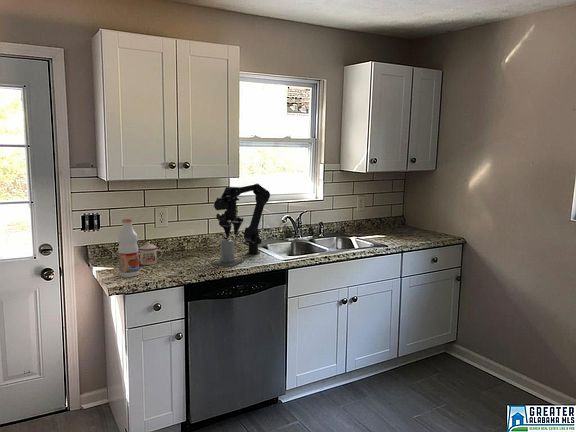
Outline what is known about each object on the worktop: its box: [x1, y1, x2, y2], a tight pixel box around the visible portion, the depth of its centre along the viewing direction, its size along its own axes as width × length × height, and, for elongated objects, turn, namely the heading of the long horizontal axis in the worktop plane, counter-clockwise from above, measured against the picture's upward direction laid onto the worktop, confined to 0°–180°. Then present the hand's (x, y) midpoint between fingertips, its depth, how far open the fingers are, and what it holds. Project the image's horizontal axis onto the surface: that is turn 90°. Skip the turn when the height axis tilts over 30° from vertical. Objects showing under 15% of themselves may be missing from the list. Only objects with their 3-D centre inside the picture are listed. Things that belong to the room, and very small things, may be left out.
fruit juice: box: [117, 218, 140, 278], centre depth 235 cm, size 9×9×28 cm
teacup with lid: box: [139, 242, 163, 266], centre depth 261 cm, size 12×9×12 cm
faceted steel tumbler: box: [220, 238, 235, 263], centre depth 262 cm, size 7×7×12 cm
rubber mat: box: [210, 258, 244, 268], centre depth 263 cm, size 13×13×3 cm
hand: (231, 235), depth 274 cm, fingers open, 9 cm apart
